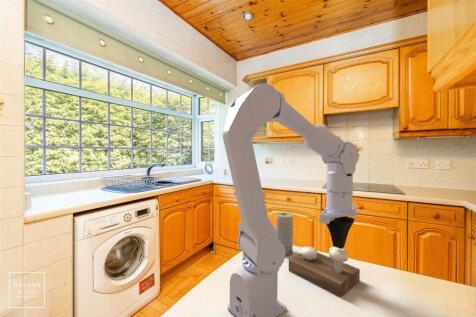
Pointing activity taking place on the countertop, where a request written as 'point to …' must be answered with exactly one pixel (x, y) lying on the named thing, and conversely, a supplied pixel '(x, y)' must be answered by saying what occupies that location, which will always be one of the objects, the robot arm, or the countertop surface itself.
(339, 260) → the knob near
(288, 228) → the energy drink
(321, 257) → the block
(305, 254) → the knob far
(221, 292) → the countertop surface
